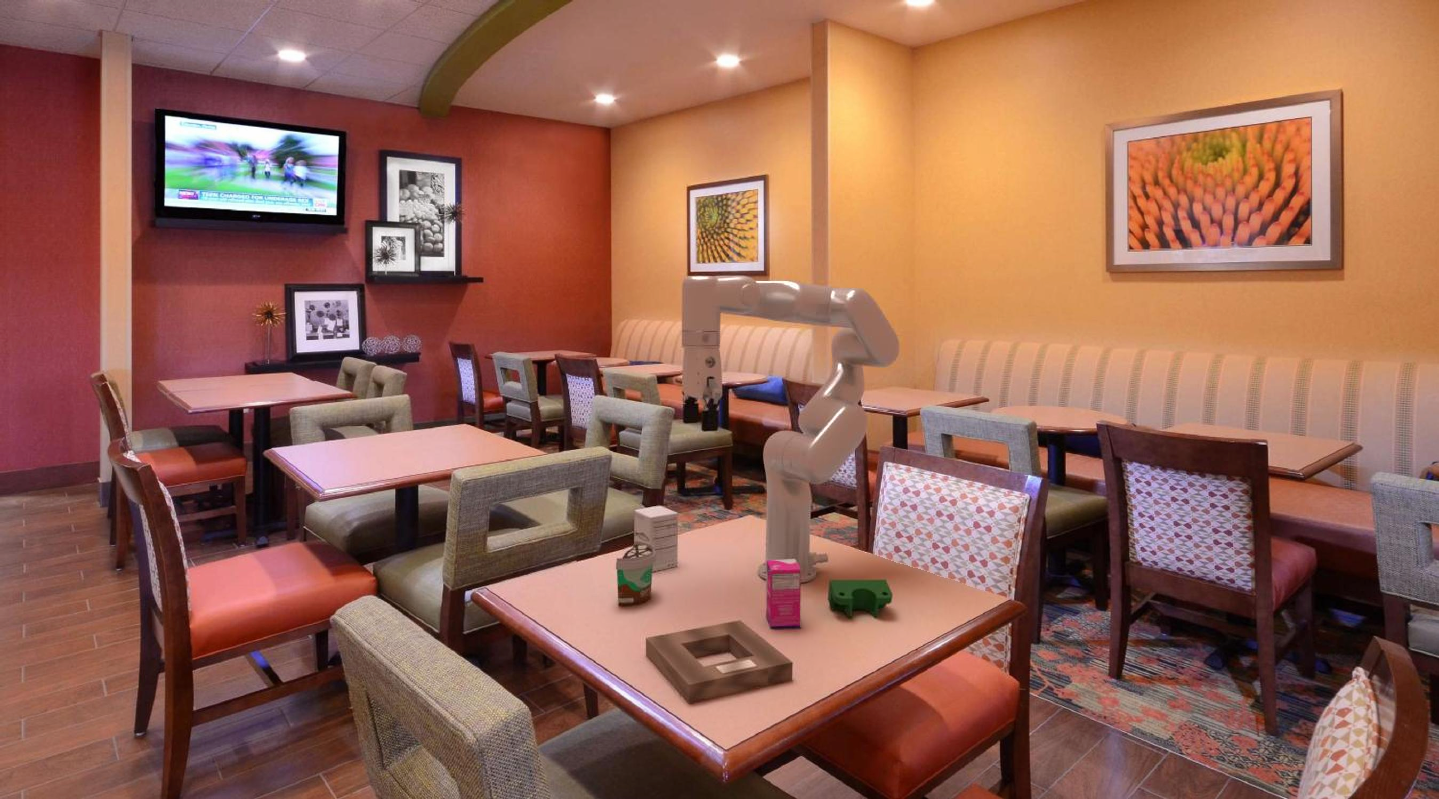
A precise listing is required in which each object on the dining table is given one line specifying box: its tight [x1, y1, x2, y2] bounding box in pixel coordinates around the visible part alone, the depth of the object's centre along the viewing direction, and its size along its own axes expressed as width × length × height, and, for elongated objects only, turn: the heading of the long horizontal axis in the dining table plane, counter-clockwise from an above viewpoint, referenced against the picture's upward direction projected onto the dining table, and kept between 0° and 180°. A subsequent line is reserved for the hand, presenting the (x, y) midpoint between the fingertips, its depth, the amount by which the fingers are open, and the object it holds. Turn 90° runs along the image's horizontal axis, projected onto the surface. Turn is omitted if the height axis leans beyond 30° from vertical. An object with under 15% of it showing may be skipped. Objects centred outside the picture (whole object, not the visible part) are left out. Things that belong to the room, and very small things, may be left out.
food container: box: [615, 540, 657, 607], centre depth 161 cm, size 12×6×10 cm, turn 168°
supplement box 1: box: [633, 505, 679, 573], centre depth 181 cm, size 7×7×13 cm
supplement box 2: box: [765, 559, 802, 630], centre depth 150 cm, size 6×6×12 cm
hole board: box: [645, 619, 794, 705], centre depth 133 cm, size 18×18×3 cm
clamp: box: [827, 579, 893, 619], centre depth 156 cm, size 12×6×9 cm, turn 86°
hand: (699, 426), depth 160 cm, fingers open, 9 cm apart
